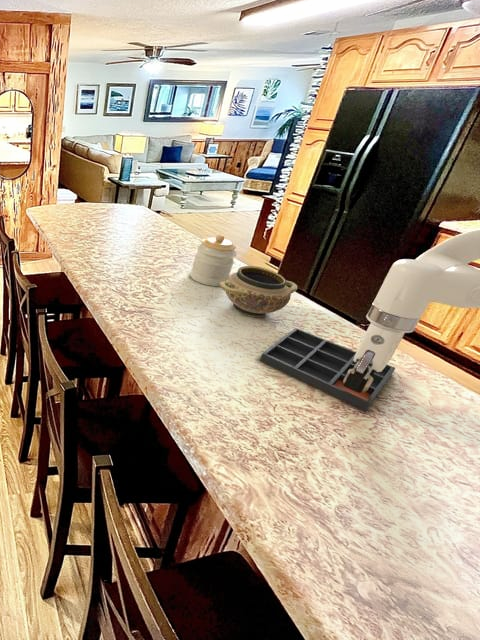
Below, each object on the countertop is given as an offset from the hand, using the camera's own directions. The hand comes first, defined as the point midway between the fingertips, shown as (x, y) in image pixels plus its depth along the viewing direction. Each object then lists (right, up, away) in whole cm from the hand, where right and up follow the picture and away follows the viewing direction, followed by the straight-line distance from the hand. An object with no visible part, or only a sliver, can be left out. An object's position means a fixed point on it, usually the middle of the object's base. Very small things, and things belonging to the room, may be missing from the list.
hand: (355, 384), depth 89 cm
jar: (-3, +24, +57) cm, 62 cm away
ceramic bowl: (-1, +14, +37) cm, 39 cm away
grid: (+1, +1, +10) cm, 11 cm away
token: (0, 0, 0) cm, 0 cm away
